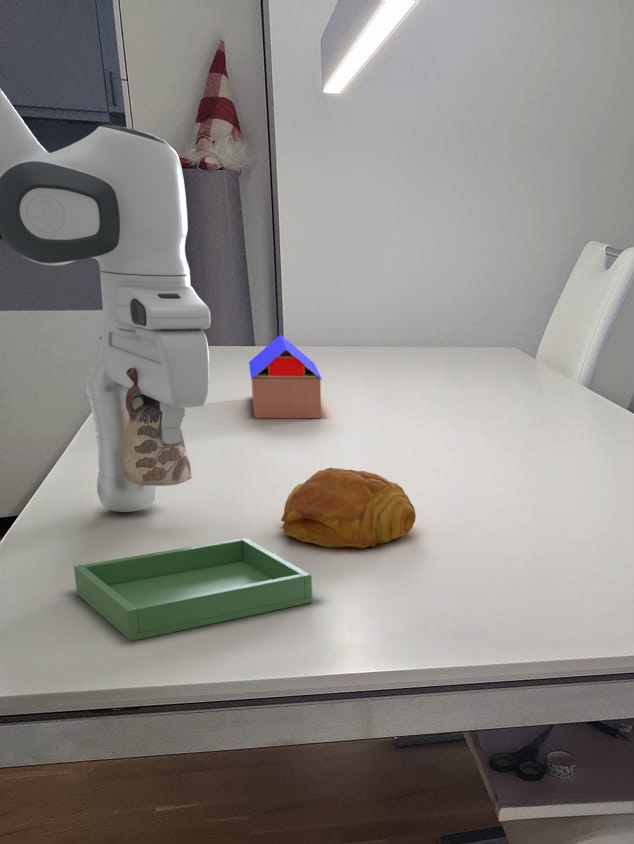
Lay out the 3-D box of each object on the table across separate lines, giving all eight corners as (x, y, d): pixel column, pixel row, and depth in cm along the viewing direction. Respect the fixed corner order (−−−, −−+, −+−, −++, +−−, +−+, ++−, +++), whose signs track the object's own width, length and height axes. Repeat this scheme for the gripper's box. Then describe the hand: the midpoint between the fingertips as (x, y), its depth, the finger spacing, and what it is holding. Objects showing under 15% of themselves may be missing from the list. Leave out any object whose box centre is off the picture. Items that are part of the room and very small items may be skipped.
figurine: (199, 483, 113) (194, 371, 108) (133, 488, 109) (125, 372, 105) (181, 468, 118) (175, 361, 114) (117, 472, 115) (108, 362, 110)
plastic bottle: (169, 509, 125) (156, 338, 117) (123, 521, 119) (107, 343, 112) (132, 500, 128) (117, 332, 120) (87, 511, 123) (68, 337, 115)
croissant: (331, 524, 129) (324, 460, 127) (436, 530, 121) (430, 461, 119) (252, 550, 117) (243, 479, 115) (362, 557, 109) (354, 482, 107)
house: (252, 418, 178) (249, 348, 173) (250, 397, 196) (247, 334, 191) (323, 418, 180) (321, 349, 176) (314, 398, 198) (313, 335, 194)
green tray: (130, 641, 88) (127, 610, 87) (76, 594, 98) (73, 565, 97) (312, 602, 98) (311, 574, 97) (247, 563, 108) (245, 537, 107)
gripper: (81, 292, 112) (92, 420, 118) (156, 313, 98) (164, 457, 103) (138, 292, 116) (146, 416, 121) (218, 312, 101) (223, 452, 107)
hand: (155, 435), depth 112 cm, fingers closed on figurine, 6 cm apart
